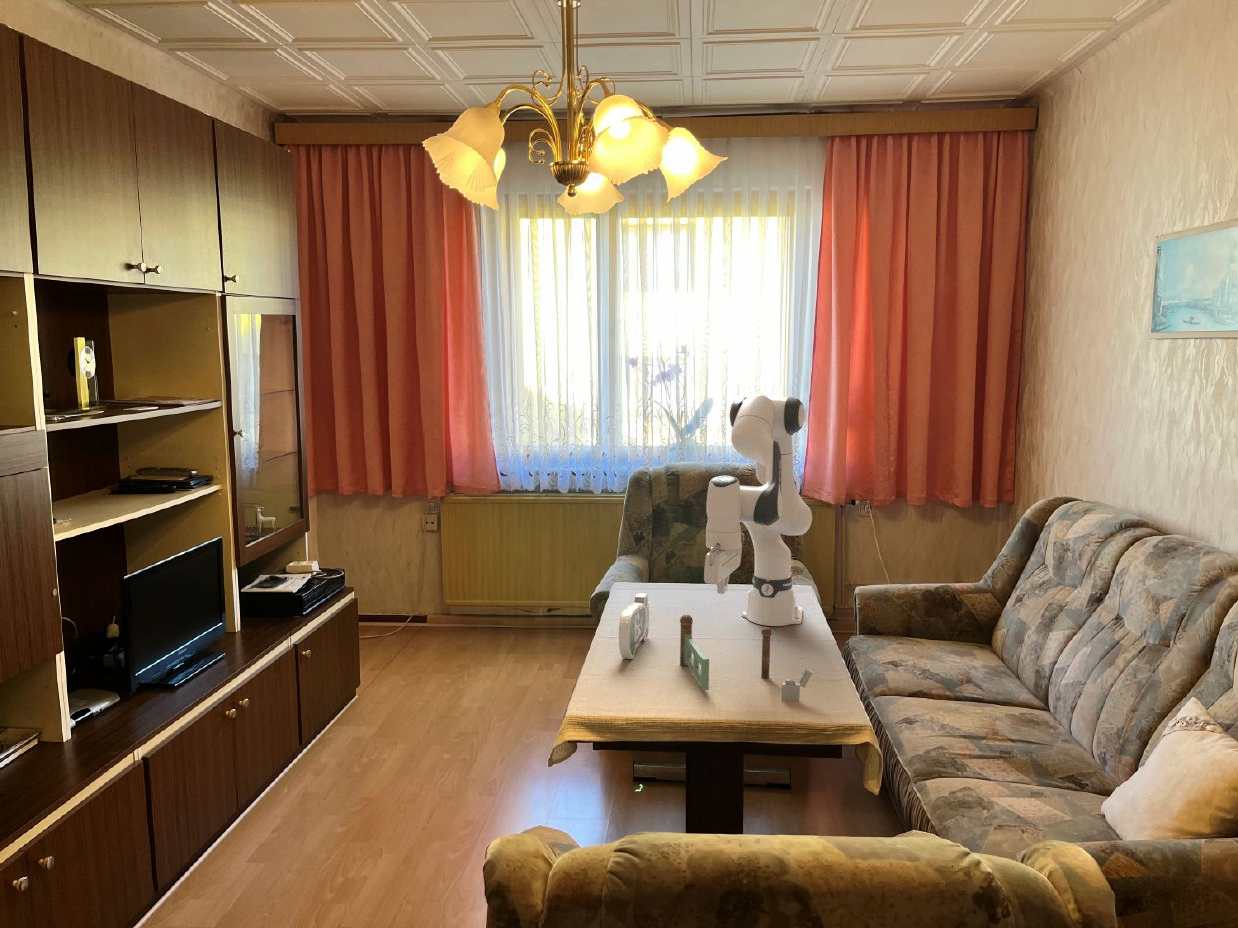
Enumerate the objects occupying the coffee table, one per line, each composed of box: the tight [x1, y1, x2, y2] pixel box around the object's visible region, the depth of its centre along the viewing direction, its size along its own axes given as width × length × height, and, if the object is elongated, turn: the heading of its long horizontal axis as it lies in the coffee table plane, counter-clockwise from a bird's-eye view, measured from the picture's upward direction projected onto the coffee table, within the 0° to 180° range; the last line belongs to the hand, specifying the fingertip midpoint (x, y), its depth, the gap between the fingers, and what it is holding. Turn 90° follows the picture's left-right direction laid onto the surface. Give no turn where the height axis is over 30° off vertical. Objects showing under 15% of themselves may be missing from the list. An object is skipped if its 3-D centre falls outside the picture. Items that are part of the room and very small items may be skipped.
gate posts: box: [679, 614, 773, 679], centre depth 246 cm, size 3×25×14 cm, turn 66°
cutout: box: [618, 592, 650, 660], centre depth 262 cm, size 15×3×25 cm
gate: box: [684, 634, 710, 691], centre depth 240 cm, size 2×19×8 cm, turn 10°
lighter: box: [780, 668, 813, 703], centre depth 227 cm, size 7×2×8 cm, turn 87°
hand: (722, 592), depth 240 cm, fingers closed
